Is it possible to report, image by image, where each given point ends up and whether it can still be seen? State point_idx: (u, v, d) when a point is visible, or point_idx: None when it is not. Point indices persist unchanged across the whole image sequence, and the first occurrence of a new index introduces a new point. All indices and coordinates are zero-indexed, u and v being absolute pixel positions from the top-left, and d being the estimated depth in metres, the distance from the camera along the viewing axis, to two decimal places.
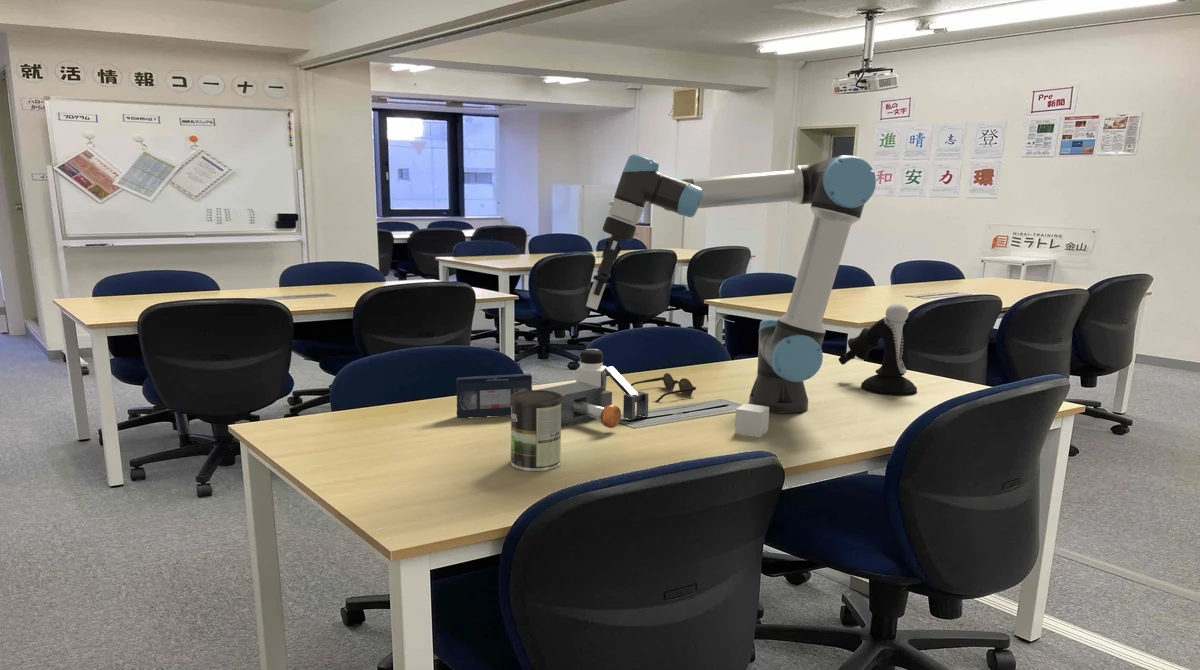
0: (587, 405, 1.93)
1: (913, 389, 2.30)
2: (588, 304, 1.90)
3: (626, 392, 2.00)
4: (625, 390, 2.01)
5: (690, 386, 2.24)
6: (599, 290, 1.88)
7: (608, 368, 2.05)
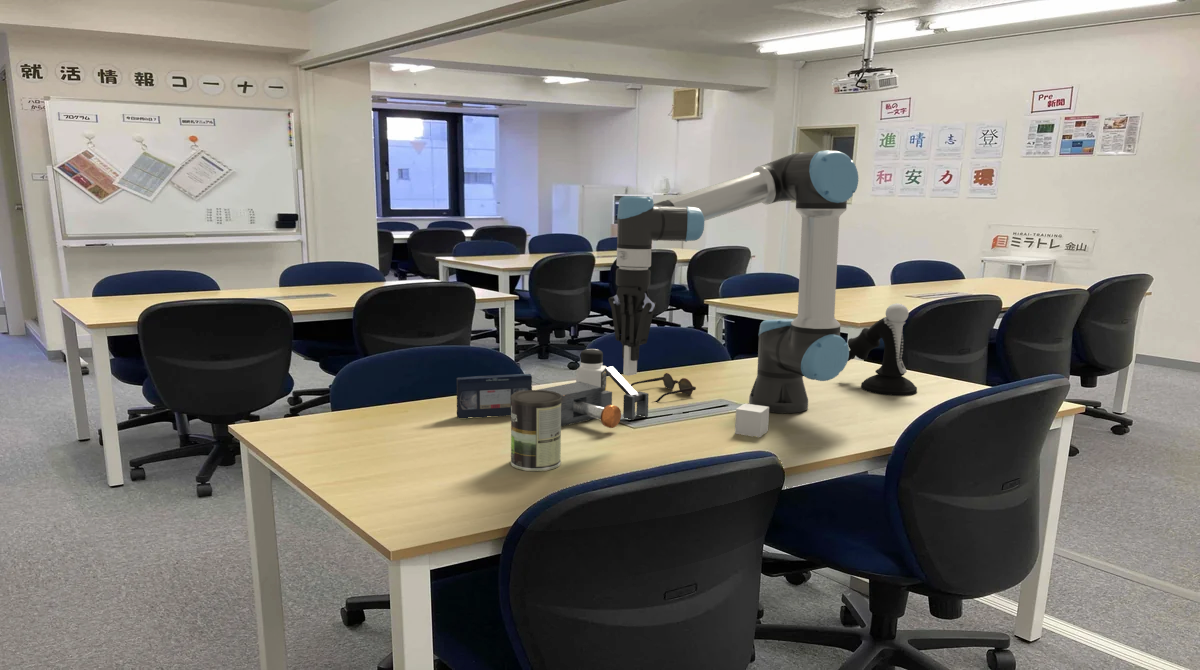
0: (587, 405, 1.93)
1: (913, 389, 2.30)
2: (629, 372, 1.80)
3: (626, 392, 2.00)
4: (625, 390, 2.01)
5: (690, 386, 2.24)
6: (637, 354, 1.80)
7: (608, 368, 2.05)
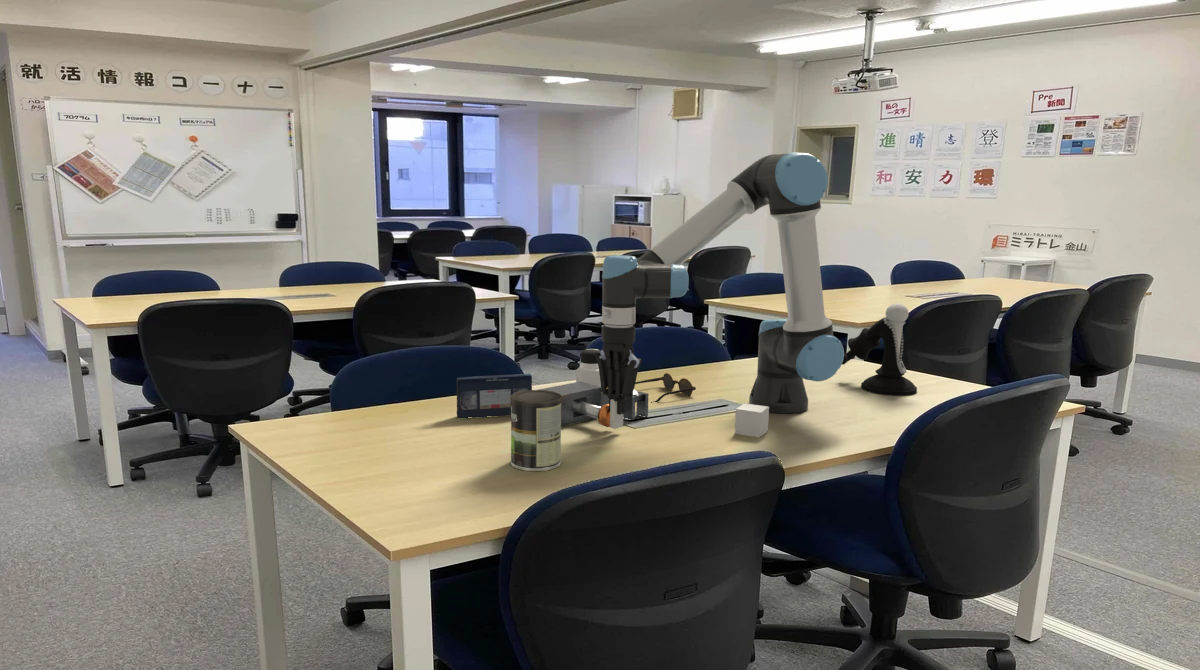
0: (584, 404, 1.93)
1: (913, 389, 2.30)
2: (616, 426, 1.86)
3: None
4: None
5: (690, 386, 2.23)
6: (623, 408, 1.85)
7: None
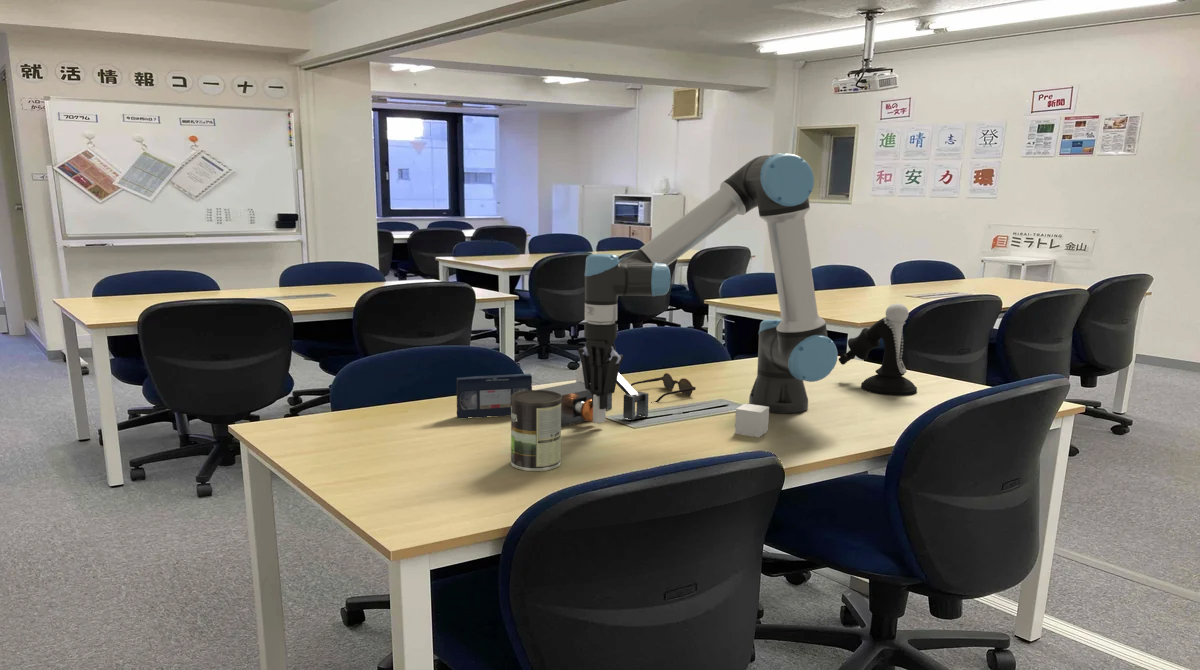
0: None
1: (913, 389, 2.30)
2: (598, 420, 1.90)
3: (626, 392, 2.00)
4: (625, 390, 2.01)
5: (690, 386, 2.23)
6: (606, 403, 1.89)
7: None
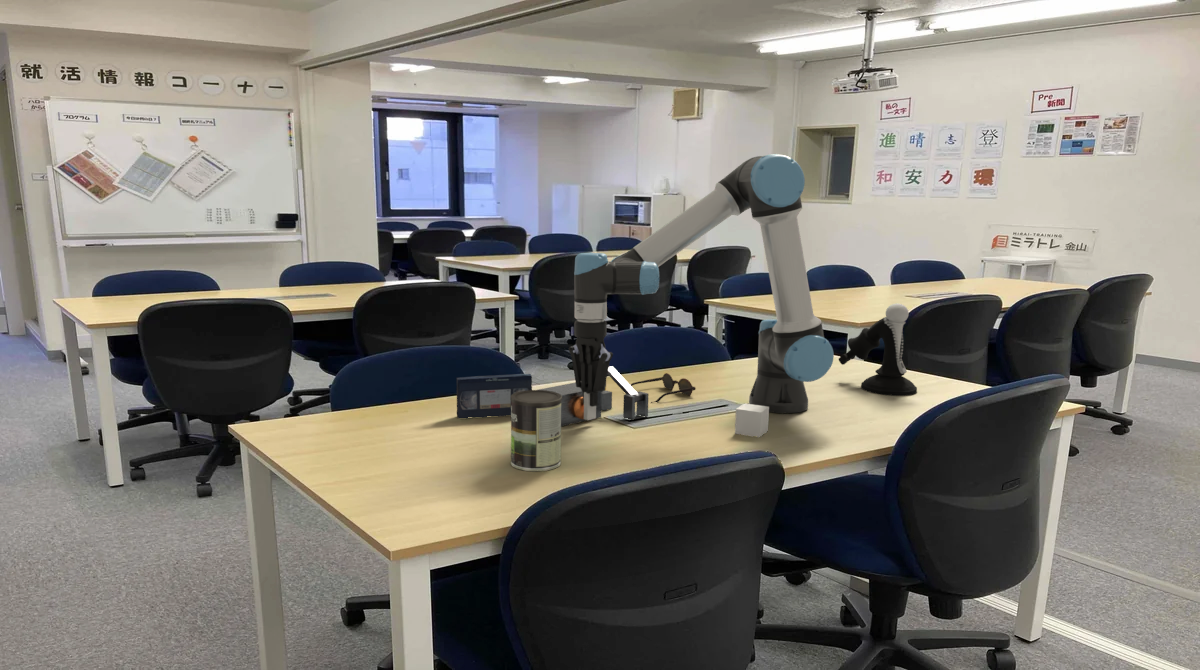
0: None
1: (913, 389, 2.30)
2: (589, 417, 1.92)
3: (626, 392, 2.00)
4: (625, 390, 2.01)
5: (690, 386, 2.23)
6: (596, 400, 1.92)
7: (608, 368, 2.05)
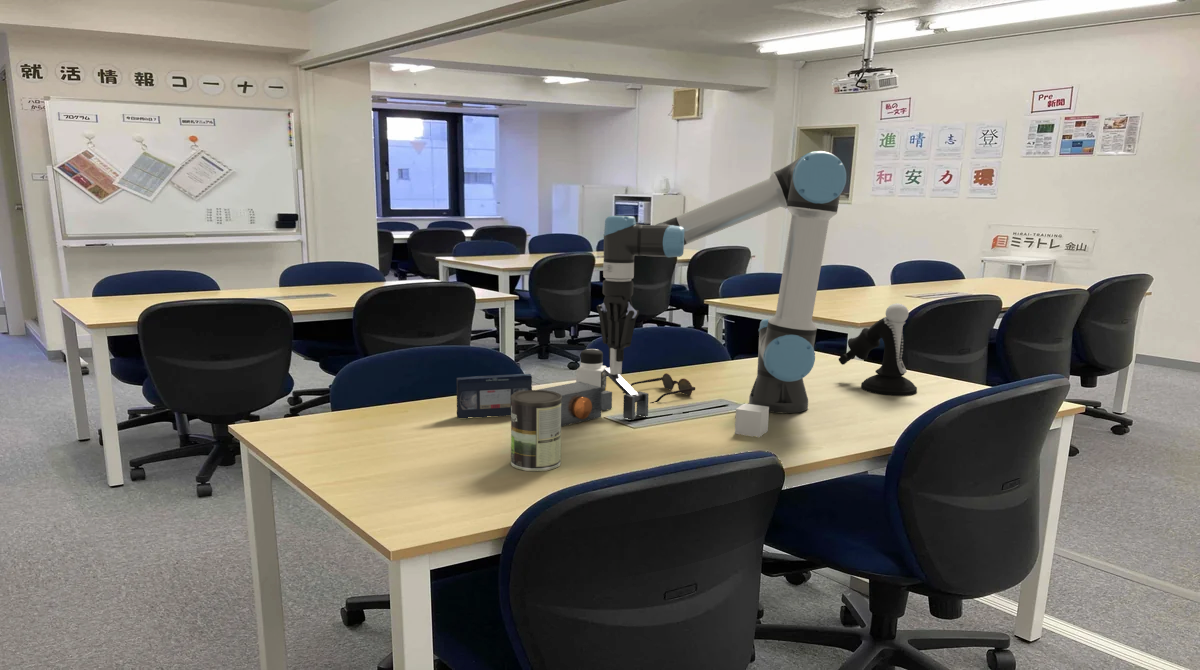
0: None
1: (913, 389, 2.30)
2: (615, 372, 2.03)
3: (626, 392, 2.00)
4: (625, 390, 2.01)
5: (689, 386, 2.23)
6: (622, 356, 2.02)
7: (607, 369, 2.05)
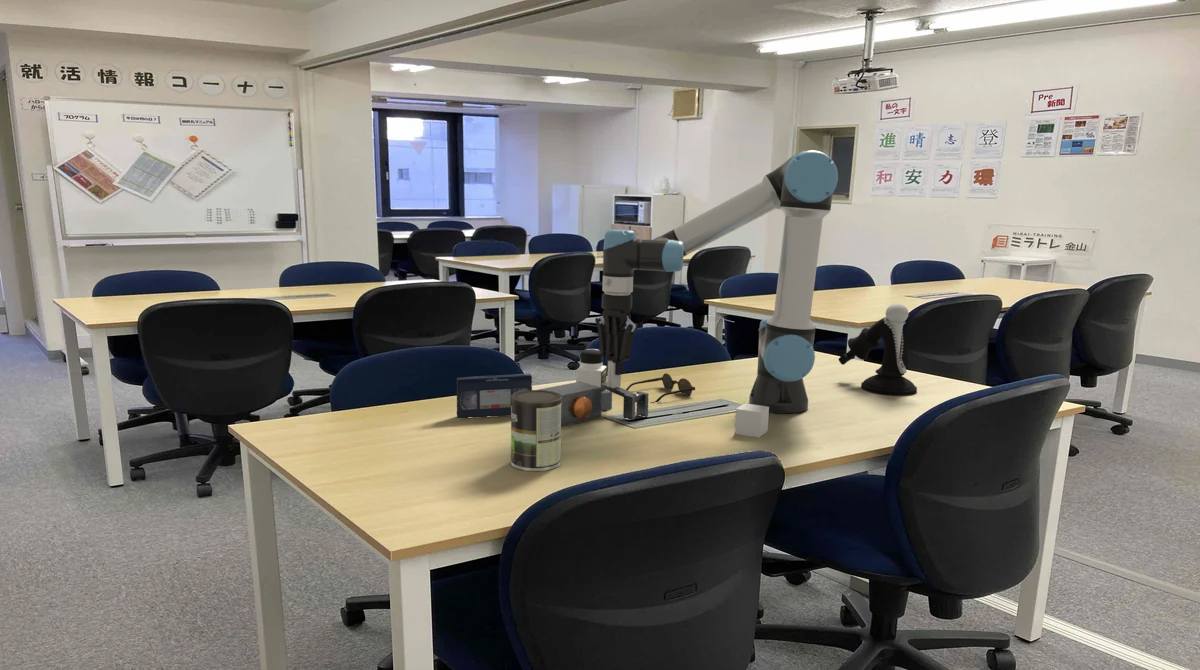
0: None
1: (913, 389, 2.30)
2: (614, 385, 2.04)
3: None
4: (624, 394, 2.01)
5: (689, 386, 2.23)
6: (621, 369, 2.03)
7: (603, 383, 2.07)
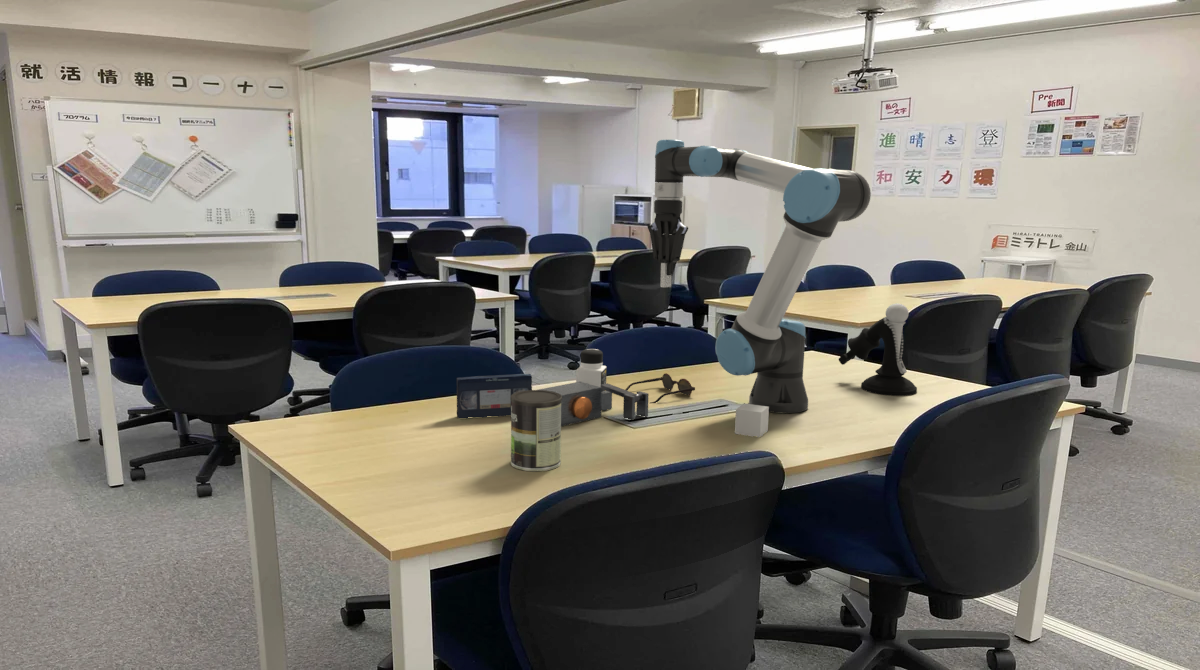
0: None
1: (913, 389, 2.30)
2: (665, 285, 2.21)
3: None
4: None
5: (689, 386, 2.23)
6: (672, 270, 2.21)
7: (603, 384, 2.07)
